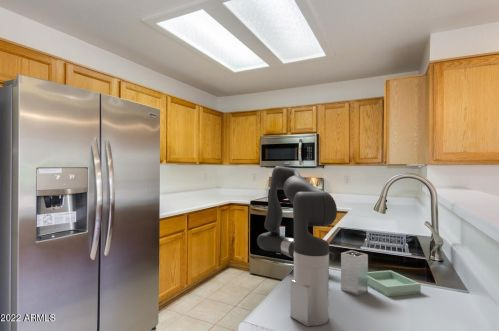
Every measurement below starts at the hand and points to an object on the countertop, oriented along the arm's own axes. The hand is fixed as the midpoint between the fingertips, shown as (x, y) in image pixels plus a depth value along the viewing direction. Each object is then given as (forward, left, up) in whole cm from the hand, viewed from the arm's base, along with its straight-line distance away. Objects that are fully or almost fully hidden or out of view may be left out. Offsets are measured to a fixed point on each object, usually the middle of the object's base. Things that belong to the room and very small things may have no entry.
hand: (326, 258), depth 100 cm
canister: (0, -11, -8) cm, 14 cm away
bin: (+13, -16, -8) cm, 22 cm away
